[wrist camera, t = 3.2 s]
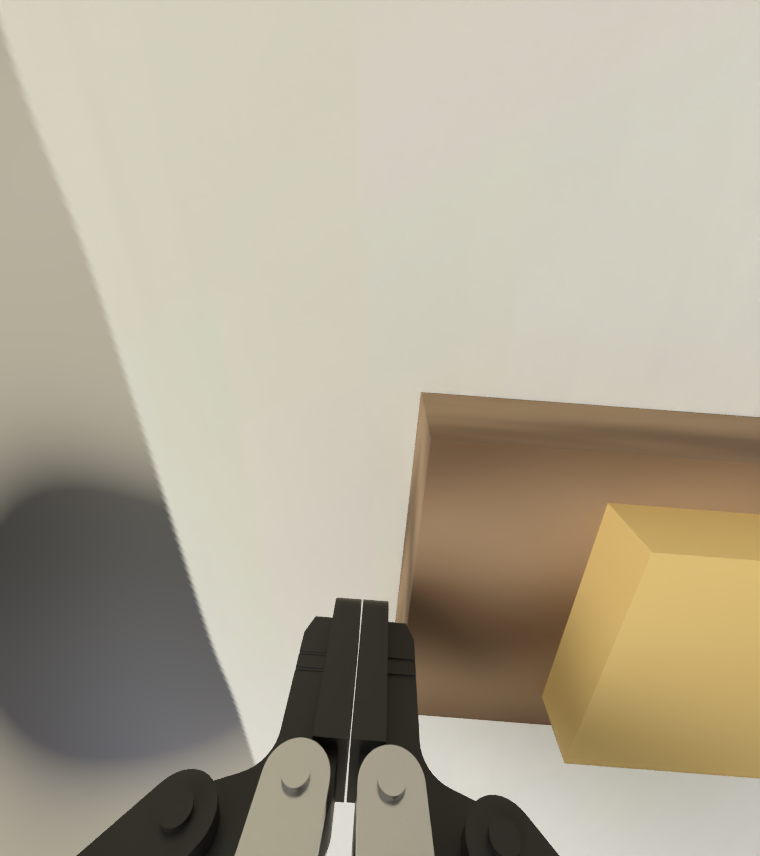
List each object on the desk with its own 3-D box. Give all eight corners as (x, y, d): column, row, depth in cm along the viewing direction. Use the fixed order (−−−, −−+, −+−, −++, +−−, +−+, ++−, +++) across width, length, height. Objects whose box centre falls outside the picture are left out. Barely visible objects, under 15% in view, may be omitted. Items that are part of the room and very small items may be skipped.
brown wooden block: (421, 392, 14) (430, 438, 10) (849, 423, 14) (1014, 482, 10) (395, 621, 18) (395, 713, 14) (723, 646, 18) (807, 745, 14)
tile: (607, 502, 11) (652, 552, 9) (828, 519, 11) (917, 572, 9) (541, 696, 14) (564, 763, 12) (713, 710, 14) (762, 778, 12)
